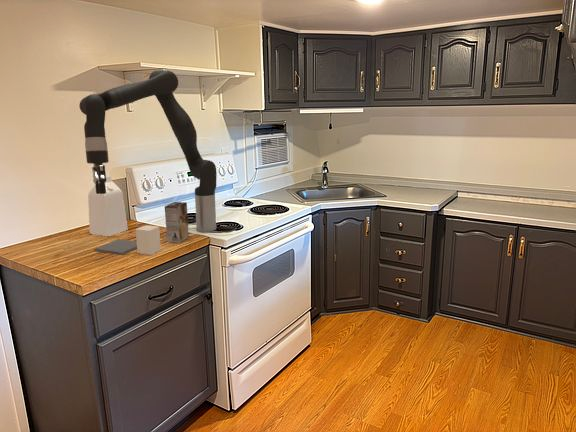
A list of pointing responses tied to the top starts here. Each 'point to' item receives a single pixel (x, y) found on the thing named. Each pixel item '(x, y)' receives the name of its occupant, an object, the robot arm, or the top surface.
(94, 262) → the top surface
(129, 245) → the mat
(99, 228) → the milk
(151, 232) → the white rectangular block
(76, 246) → the top surface
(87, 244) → the top surface
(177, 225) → the coffee box
